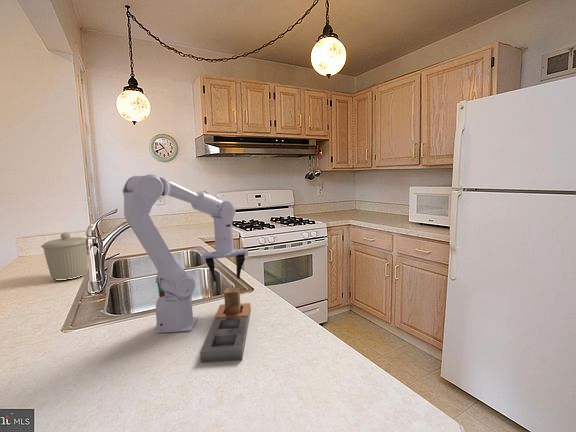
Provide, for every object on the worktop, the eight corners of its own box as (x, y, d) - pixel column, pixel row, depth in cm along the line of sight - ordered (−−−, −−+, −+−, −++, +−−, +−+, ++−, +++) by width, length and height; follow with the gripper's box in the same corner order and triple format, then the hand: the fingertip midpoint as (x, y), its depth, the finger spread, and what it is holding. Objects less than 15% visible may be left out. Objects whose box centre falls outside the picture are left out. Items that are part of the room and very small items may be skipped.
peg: (225, 322, 90) (224, 292, 89) (227, 316, 94) (226, 288, 93) (239, 321, 91) (237, 292, 90) (241, 315, 95) (239, 287, 94)
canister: (75, 283, 134) (70, 235, 132) (34, 284, 134) (28, 237, 132) (101, 271, 152) (97, 229, 150) (65, 272, 152) (60, 230, 150)
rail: (200, 362, 70) (200, 351, 70) (220, 312, 97) (220, 304, 97) (242, 359, 71) (241, 348, 71) (250, 311, 98) (250, 303, 97)
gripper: (201, 242, 93) (204, 286, 95) (248, 238, 98) (250, 279, 99) (200, 238, 100) (203, 279, 102) (244, 234, 104) (246, 273, 106)
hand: (226, 279), depth 101 cm, fingers open, 7 cm apart
